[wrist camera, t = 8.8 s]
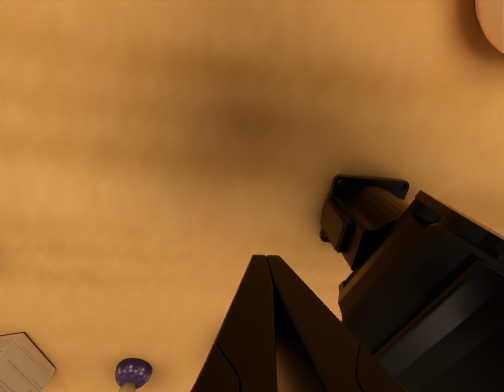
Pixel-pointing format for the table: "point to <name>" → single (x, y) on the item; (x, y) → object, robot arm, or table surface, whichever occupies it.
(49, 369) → the supplement box
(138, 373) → the toy lamp
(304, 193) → the table surface
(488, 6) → the lidded jar
